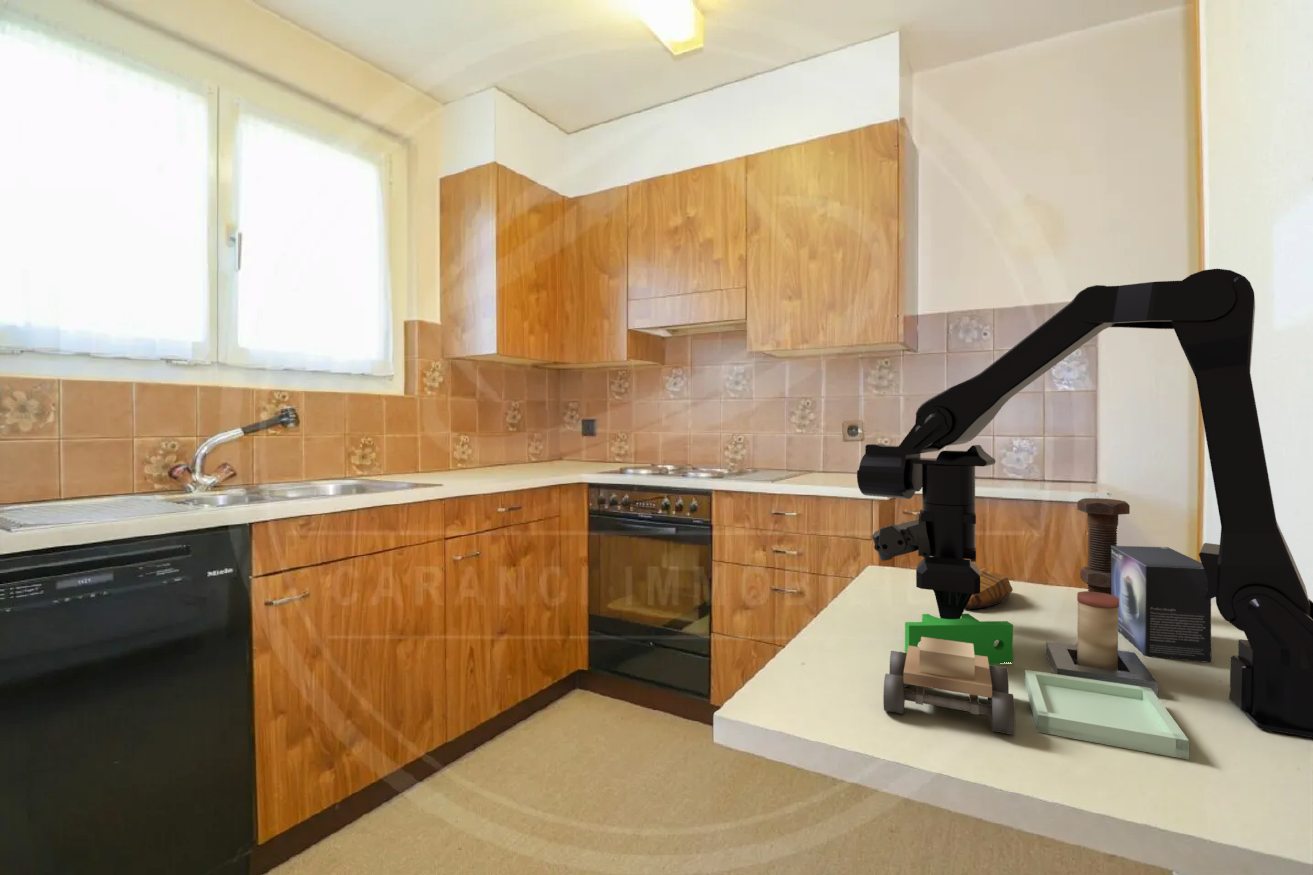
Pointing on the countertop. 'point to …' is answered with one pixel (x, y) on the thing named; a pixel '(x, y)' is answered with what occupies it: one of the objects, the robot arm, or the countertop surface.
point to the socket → (1128, 665)
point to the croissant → (990, 590)
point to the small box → (1162, 602)
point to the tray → (1104, 713)
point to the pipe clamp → (966, 635)
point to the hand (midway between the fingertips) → (948, 631)
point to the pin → (1097, 630)
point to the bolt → (1101, 540)
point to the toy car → (950, 681)
